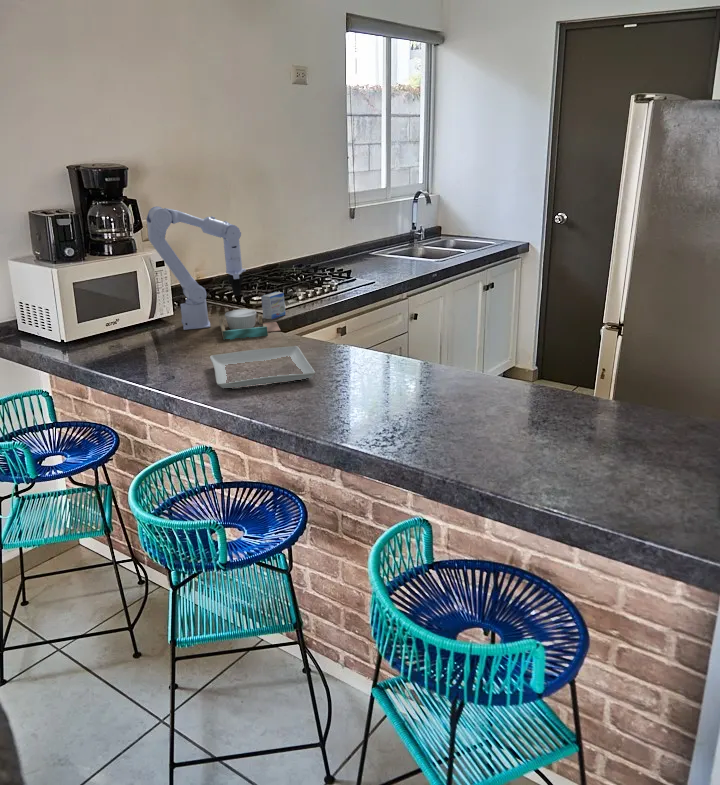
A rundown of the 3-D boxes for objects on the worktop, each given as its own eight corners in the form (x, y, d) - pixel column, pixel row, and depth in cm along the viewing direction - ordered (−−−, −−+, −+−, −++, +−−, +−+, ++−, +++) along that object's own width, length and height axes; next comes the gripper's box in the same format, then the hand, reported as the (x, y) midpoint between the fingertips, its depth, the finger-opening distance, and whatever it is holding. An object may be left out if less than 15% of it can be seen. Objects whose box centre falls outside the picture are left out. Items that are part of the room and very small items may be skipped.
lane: (223, 340, 240) (222, 331, 239) (220, 325, 258) (219, 317, 257) (282, 334, 244) (281, 325, 243) (274, 319, 262) (274, 312, 261)
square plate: (218, 396, 190) (216, 383, 189) (210, 366, 215) (209, 354, 214) (316, 383, 197) (316, 370, 195) (298, 355, 222) (297, 343, 220)
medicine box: (271, 319, 262) (269, 296, 259) (262, 318, 265) (260, 295, 262) (285, 315, 268) (284, 292, 265) (277, 313, 271) (275, 291, 268)
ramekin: (251, 331, 249) (250, 317, 247) (221, 331, 251) (219, 316, 249) (261, 323, 259) (260, 309, 257) (233, 322, 261) (231, 308, 259)
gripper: (246, 260, 250) (249, 298, 255) (242, 253, 264) (246, 289, 268) (225, 262, 249) (230, 299, 254) (223, 255, 262) (227, 291, 267)
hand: (237, 294), depth 261 cm, fingers closed
